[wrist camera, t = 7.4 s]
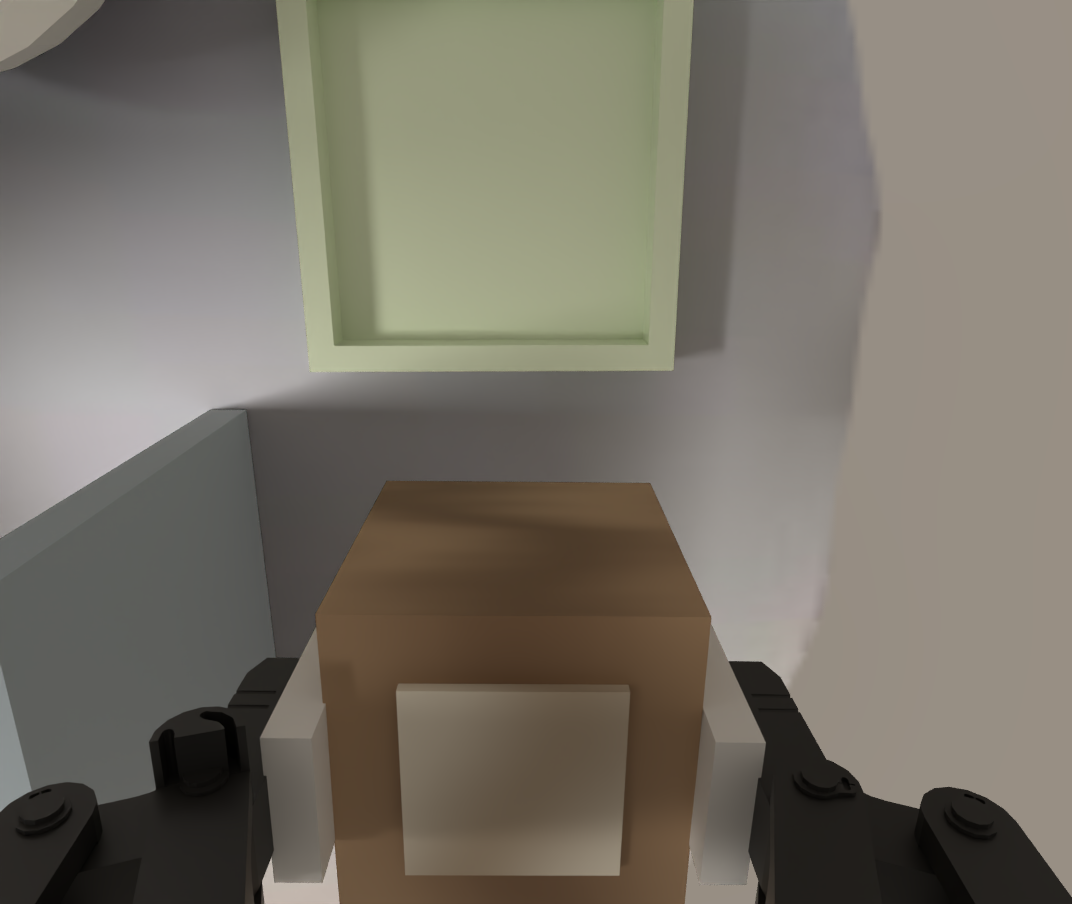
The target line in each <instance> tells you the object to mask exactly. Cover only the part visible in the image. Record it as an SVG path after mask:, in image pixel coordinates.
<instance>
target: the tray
mask: <svg viewBox="0 0 1072 904" xmlns="http://www.w3.org/2000/svg"><path fill="white" fill-rule="evenodd" d="M693 5H694V0H276V10H277V21H278V32H279V43H280V54H281V64H282V75H283V86H284V97H285V108H286V119H287V130H288V140H289V151H290V162H291V173H292V184H293V195H294V206H295V217H296V227H297V238H298V249H299V260H300V271H301V282H302V293H303V304H304V314H305V325H306V336H307V347H308V358H309V369H310V372H466V371H673V369H674V351H675V333H676V315H677V296H678V278H679V260H680V242H681V224H682V205H683V187H684V169H685V151H686V133H687V114H688V96H689V78H690V60H691V42H692V23H693Z"/></svg>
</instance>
